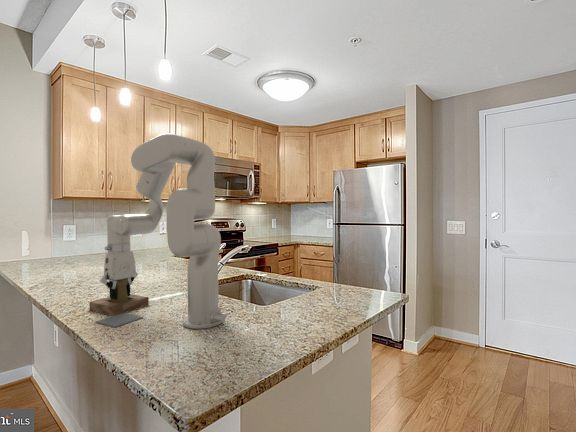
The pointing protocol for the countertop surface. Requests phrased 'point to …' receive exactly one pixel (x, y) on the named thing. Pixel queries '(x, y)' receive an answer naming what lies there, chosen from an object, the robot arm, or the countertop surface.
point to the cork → (121, 291)
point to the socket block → (118, 305)
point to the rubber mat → (119, 320)
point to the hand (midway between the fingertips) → (120, 296)
